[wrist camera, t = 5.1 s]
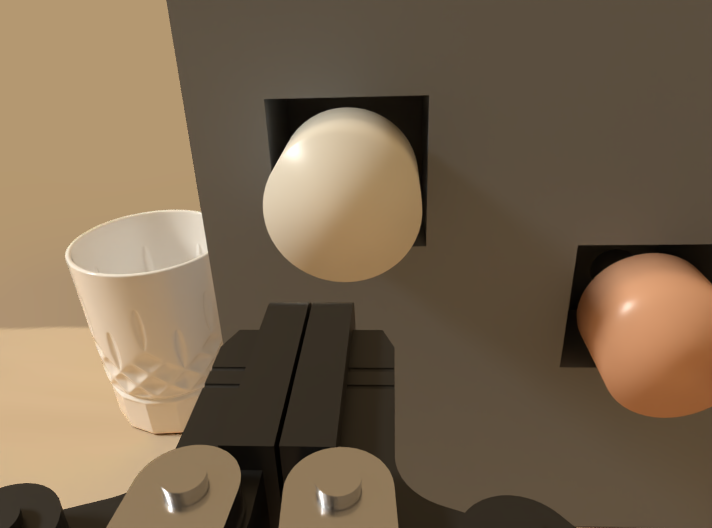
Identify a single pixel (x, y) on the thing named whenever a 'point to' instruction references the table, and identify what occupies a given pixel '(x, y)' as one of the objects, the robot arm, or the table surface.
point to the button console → (480, 219)
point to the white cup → (150, 312)
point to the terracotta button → (650, 331)
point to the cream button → (344, 196)
